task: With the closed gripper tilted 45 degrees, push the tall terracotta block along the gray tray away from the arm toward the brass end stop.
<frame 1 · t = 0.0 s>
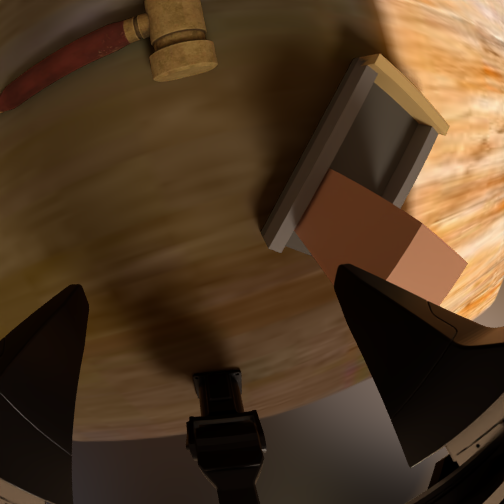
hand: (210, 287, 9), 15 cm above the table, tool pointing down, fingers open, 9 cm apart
block: (372, 241, 19), point 7 cm above the table, slide at 0.0 cm
gray tray: (352, 167, 23), on the table
gavel: (83, 59, 14), on the table
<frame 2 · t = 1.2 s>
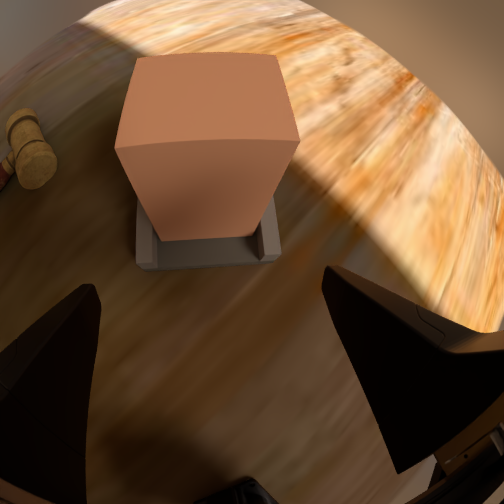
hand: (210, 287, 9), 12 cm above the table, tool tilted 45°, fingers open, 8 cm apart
block: (204, 161, 16), point 7 cm above the table, slide at 0.0 cm
gray tray: (203, 165, 23), on the table
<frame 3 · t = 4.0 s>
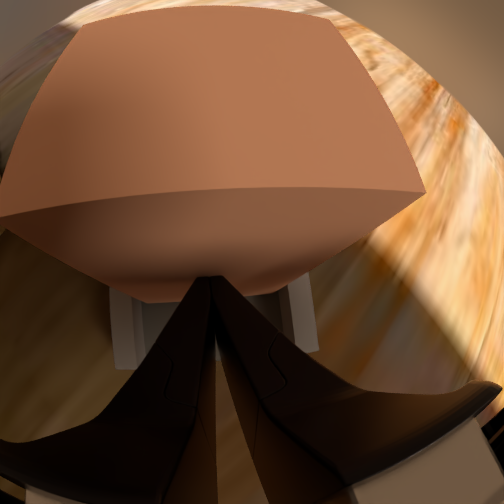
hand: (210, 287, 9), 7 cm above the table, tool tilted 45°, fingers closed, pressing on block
block: (203, 197, 10), point 7 cm above the table, slide at 1.4 cm, touching gripper
gray tray: (202, 209, 17), on the table
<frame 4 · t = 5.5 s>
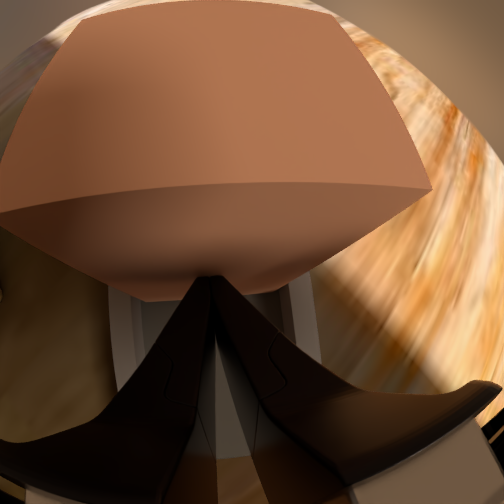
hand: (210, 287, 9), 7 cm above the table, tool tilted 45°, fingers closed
block: (203, 194, 9), point 7 cm above the table, slide at 7.7 cm
gray tray: (210, 307, 15), on the table
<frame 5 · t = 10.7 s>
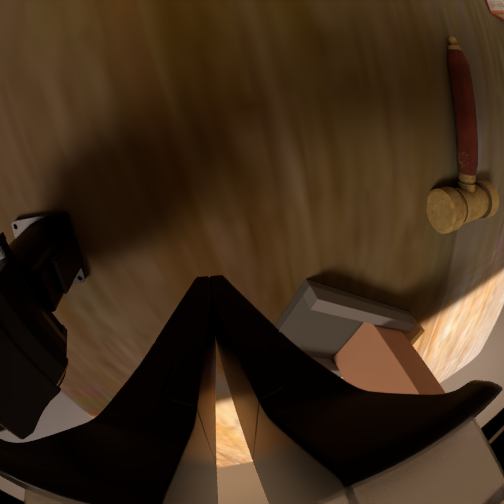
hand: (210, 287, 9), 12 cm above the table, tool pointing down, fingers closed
block: (387, 376, 25), point 7 cm above the table, slide at 7.7 cm
gray tray: (343, 331, 30), on the table
gavel: (453, 126, 20), on the table
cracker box: (501, 8, 10), on the table
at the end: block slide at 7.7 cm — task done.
